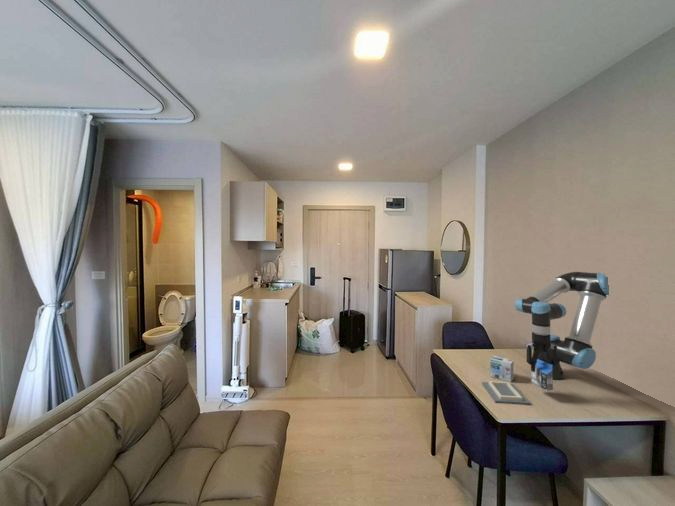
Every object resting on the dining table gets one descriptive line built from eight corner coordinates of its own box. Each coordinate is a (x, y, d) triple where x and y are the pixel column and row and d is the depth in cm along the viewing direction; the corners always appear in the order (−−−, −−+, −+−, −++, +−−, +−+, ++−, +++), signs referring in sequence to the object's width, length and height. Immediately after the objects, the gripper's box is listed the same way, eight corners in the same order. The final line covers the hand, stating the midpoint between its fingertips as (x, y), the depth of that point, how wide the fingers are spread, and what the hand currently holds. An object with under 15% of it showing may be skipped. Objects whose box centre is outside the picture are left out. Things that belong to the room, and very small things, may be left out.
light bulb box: (490, 376, 158) (490, 358, 158) (493, 372, 163) (492, 355, 163) (511, 382, 151) (511, 363, 150) (513, 378, 156) (513, 359, 155)
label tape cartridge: (530, 382, 141) (530, 359, 141) (537, 381, 142) (536, 358, 142) (547, 391, 132) (546, 366, 132) (553, 390, 133) (552, 365, 133)
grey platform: (513, 385, 148) (513, 381, 148) (531, 405, 130) (531, 400, 130) (481, 383, 150) (481, 379, 150) (495, 402, 132) (495, 397, 132)
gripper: (556, 330, 138) (556, 375, 139) (517, 330, 141) (518, 373, 142) (566, 335, 131) (566, 382, 132) (525, 335, 134) (525, 380, 135)
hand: (541, 377), depth 137 cm, fingers open, 5 cm apart
